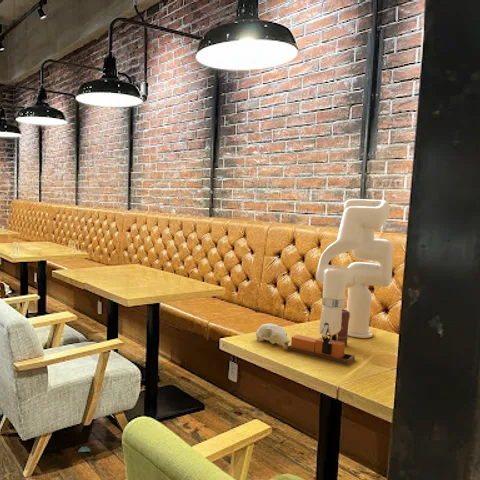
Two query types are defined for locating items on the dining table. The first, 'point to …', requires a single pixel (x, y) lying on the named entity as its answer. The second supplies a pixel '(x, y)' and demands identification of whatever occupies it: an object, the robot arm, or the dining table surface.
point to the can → (344, 327)
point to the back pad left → (303, 343)
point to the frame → (324, 356)
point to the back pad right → (336, 348)
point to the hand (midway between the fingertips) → (329, 351)
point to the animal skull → (272, 334)
